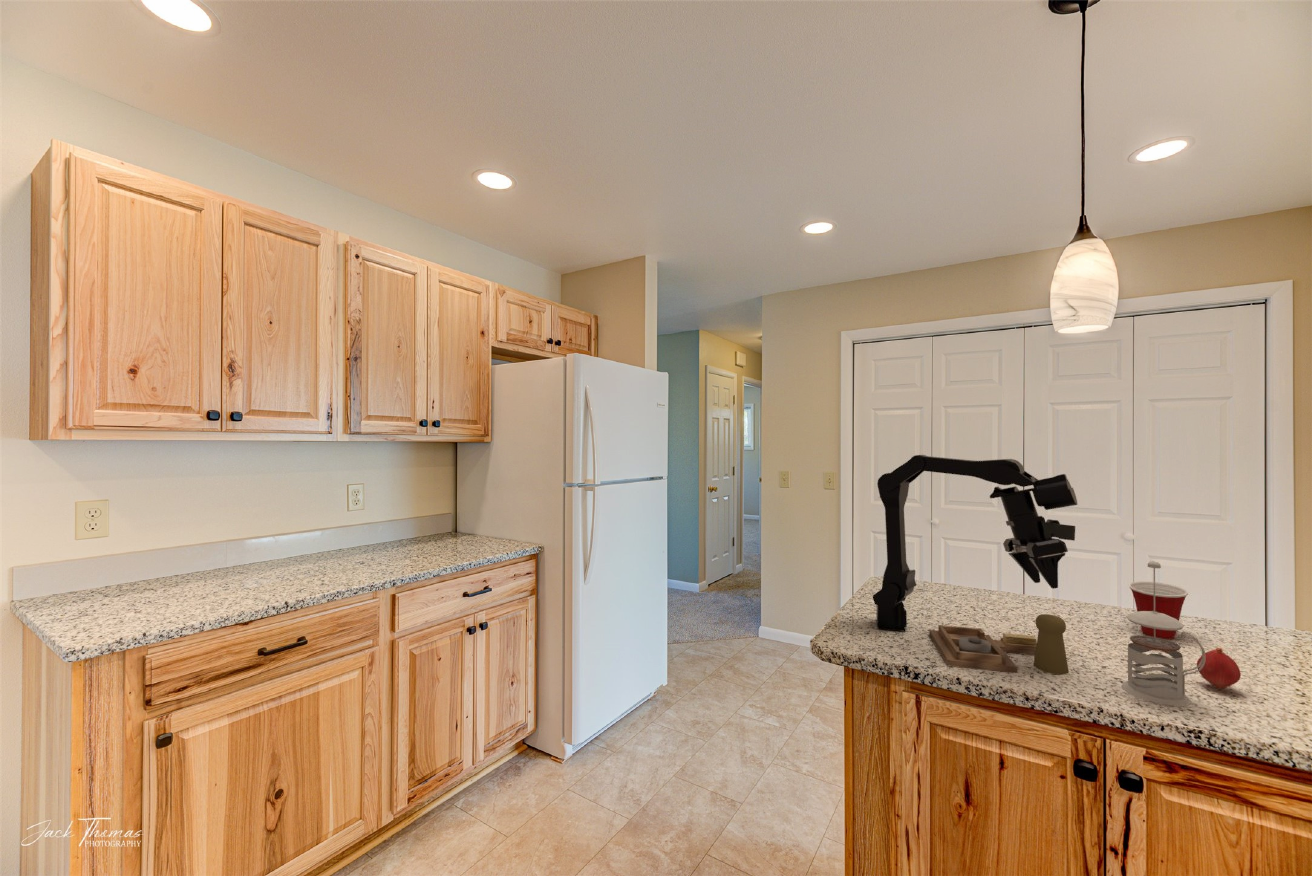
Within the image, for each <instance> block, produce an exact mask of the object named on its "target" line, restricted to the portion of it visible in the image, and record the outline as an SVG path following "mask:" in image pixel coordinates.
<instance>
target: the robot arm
mask: <svg viewBox="0 0 1312 876" xmlns="http://www.w3.org/2000/svg"><path fill="white" fill-rule="evenodd" d="M924 472H930V473H941V474H949V475H956V476H957V475H958V476H966V477H967V476H968V477H973V478H978V479H980V480H983V481H987V482H991V483H994V484H998V485H1000V486H1009V487H1006V488H1005V487H1004V488H1001V487H999V486H995V487H994V488H993V491H992V493H991V494H990V495H989V498H990V499H995V498H1000V499H1001V503H1002V506H1003V510H1004V512H1005V515H1006V518H1007V520H1005V523H1006V526H1008V527H1010V529H1011V533H1012V535H1013V536H1012V537H1010V538H1006V539H1005V540H1004V541H1003V543H1002V545H1003V547H1004V551H1005V553H1006V552H1008V554H1007V555H1008V556H1010V557H1011V558H1012V559H1013V561H1015V563H1016V564H1018V566H1019V567H1020V568H1021V569H1022V571H1023V572H1025V573H1026V575H1027V576H1028V577H1029V578H1030V579H1031V580H1032V582H1033V583H1034V584H1039V583H1041V577H1040V575H1041V576H1042V578H1043V580H1044V581H1045V583H1046V584H1048V586H1049V587H1050V588H1051V589H1058V588H1059V562H1060V560H1061V559H1062V558H1064V557H1065V556H1066V555H1067V554H1066V553H1068V552H1069V550H1068V547H1067V545H1066V542H1065V541H1064V540H1067V541H1073V542H1074V541H1075V539H1076V525H1071V524H1062V523H1061V522H1060V520H1058V519H1057V520H1056V519H1049V518H1048V519H1047V520H1045V517H1044V516H1042V515H1039V514H1038V511H1037V508H1036V505H1037V507H1040V508H1041V507H1043V508H1044V510H1045V511H1048V510H1054V509H1061V508H1067V507H1074V506H1077V505H1078V499H1077V496H1076V493H1075V489H1074V487H1072V486H1071V483H1070V480H1069V479H1068V477H1067V474H1066V473H1063V474H1062V473H1061V474H1057V475H1055V476H1052V477H1047V478H1042V479H1038V478H1037V477H1035V476H1033V475H1032V474H1031V473H1029V472H1027V471H1025V467H1024V465H1023V464H1022V463H1021V462H1020V461H1019V460H1018V459H1017V460H1016V459H1013V458H1002V459H1000V458H999V459H986V460H974V459H973V460H972V459H964V458H963V459H962V458H961V459H960V458H953V457H952V458H950V457H940V456H939V457H938V456H929V455H926V454H917V455H916V454H915V455H913V456H911V458H910V459H908V460H907V461H906V462H903V464H901V465H899V467H897V468H895V469H893V471H891V472H887V473H884V474H882V475H881V476H880V477H878V479H877V489H878V494H879V497H880V500H881V502H882V504H883V508H884V517H885V518H884V519H885V536H886V537H885V538H886V539H885V541H886V559H887V560H886V561H887V562H886V567H885V568H884V569H885V570H884V572H883V575H882V576H883V577H882V583H881V589H879V590H878V591H877V592H876V593H874V594H873V595H872V600H873V602H874V605H876V606H875V607H876V611H875V612H876V619H874V620H875V623H876V627H877V629H878V630H886V631H898V632H906V628H907V625H908V623H907V621H908V619H907V617H908V616H907V615H908V614H907V610H906V608H905V604H904V601H906V599H907V597H908V596H910V595H911V594H912V593H913V591H914V589H915V587H916V586H917V585H918V584H917V583H916V570H915V569H910V568H909V565H908V562H907V548H906V547H907V546H906V526H905V525H906V524H905V505H906V503H907V499H908V496H909V490H910V489H909V488H910V484H911V483H913V481H915V480H916V479H917V478H918V477H919V476H920V475H922V473H924ZM1011 485H1016V486H1011ZM1017 486H1018V487H1022V488H1024V489H1020V490H1019V489H1018V487H1017ZM1030 486H1033V487H1030ZM1025 487H1030V488H1026V489H1025ZM1031 492H1032V493H1031ZM1032 495H1033V496H1032ZM1033 498H1034V499H1033ZM1034 500H1035V503H1036V505H1035V503H1034Z"/></svg>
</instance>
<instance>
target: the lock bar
mask: <svg viewBox="0 0 1312 876" xmlns="http://www.w3.org/2000/svg"><path fill="white" fill-rule="evenodd" d="M1002 638H1003V642H1004V644H1005V645H1006V643H1011V644H1022V645H1033V646H1036V644H1037V638H1036V637H1035V636H1034V635H1031V634H1030V635H1029V634H1017V633H1006V632H1005V633H1004V632H1003V633H1002Z"/></svg>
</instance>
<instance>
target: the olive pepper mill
mask: <svg viewBox="0 0 1312 876" xmlns="http://www.w3.org/2000/svg"><path fill="white" fill-rule="evenodd" d="M1035 626H1036V629H1037V630H1038V634H1037V638H1036V639H1037V644H1036V651H1035V655H1034V657H1033V658H1034V659H1033V667H1034V668H1035V669H1037V670H1039V671H1042V672H1044V673H1048V674H1052V675H1067V674H1069V672H1070V671H1069V665H1068V659H1067V652H1066V646H1065V639H1064V633H1065V632H1066V629H1067V625H1066V622H1065V620H1064V619H1063V618H1062V617H1060V616H1057V615H1053V614H1044V613H1043V614H1039V615H1037V616H1036V617H1035Z"/></svg>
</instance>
